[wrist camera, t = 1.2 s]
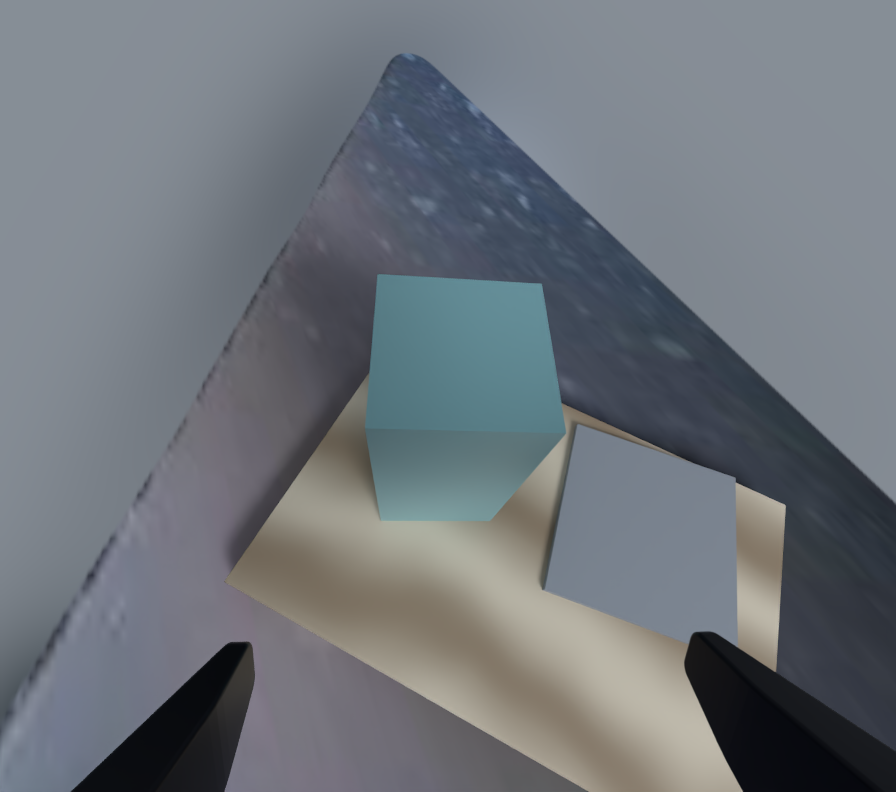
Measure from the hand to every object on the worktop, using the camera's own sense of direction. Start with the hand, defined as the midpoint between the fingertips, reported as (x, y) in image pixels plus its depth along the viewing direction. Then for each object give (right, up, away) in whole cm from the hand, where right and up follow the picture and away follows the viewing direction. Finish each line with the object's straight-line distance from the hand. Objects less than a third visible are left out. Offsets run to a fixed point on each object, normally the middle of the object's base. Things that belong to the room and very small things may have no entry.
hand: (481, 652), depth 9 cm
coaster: (+9, -2, +13) cm, 16 cm away
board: (+3, -3, +14) cm, 14 cm away
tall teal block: (-1, +1, +14) cm, 14 cm away
